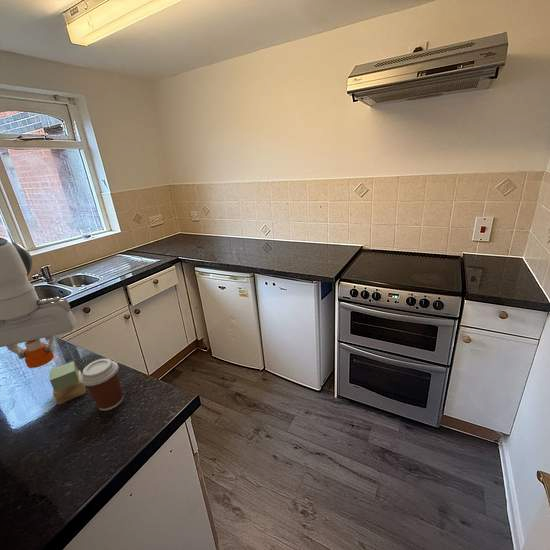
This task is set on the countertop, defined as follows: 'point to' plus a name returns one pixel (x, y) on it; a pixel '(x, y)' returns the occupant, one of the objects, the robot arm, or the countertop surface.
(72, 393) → the base block
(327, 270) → the countertop surface
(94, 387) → the coffee cup
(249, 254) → the countertop surface
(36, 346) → the cone
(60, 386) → the top block
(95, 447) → the countertop surface
